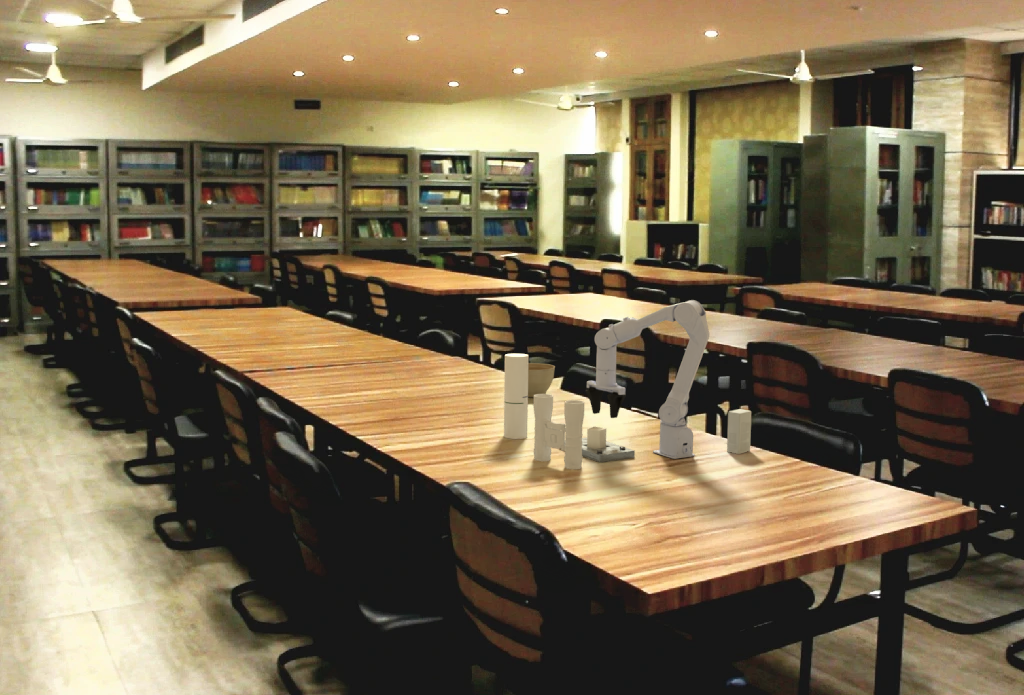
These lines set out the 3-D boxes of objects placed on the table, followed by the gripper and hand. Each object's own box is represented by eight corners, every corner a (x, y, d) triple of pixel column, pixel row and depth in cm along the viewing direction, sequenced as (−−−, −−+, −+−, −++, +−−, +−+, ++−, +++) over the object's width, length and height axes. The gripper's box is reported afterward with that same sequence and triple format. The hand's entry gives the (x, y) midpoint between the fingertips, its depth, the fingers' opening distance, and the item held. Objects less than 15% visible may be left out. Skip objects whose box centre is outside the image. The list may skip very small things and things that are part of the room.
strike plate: (634, 457, 300) (634, 448, 299) (600, 462, 294) (600, 453, 293) (592, 443, 317) (592, 434, 316) (559, 447, 310) (559, 439, 310)
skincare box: (737, 448, 312) (739, 408, 311) (750, 451, 309) (752, 410, 308) (726, 451, 308) (727, 411, 306) (738, 454, 305) (740, 413, 303)
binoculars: (528, 459, 297) (529, 395, 294) (542, 455, 300) (543, 393, 298) (573, 470, 284) (574, 404, 282) (587, 467, 288) (588, 402, 286)
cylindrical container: (532, 436, 325) (533, 355, 321) (516, 440, 320) (517, 357, 316) (514, 432, 330) (516, 352, 326) (498, 436, 324) (499, 355, 321)
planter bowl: (527, 389, 404) (527, 361, 403) (562, 394, 395) (563, 365, 393) (501, 395, 391) (502, 366, 390) (538, 401, 382) (538, 371, 380)
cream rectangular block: (605, 452, 306) (606, 428, 305) (599, 454, 302) (599, 430, 302) (593, 450, 308) (593, 426, 307) (586, 453, 305) (587, 429, 304)
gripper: (633, 371, 306) (632, 418, 308) (599, 365, 317) (598, 409, 319) (615, 373, 301) (614, 420, 303) (581, 367, 313) (580, 412, 315)
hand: (605, 415), depth 311 cm, fingers open, 7 cm apart
